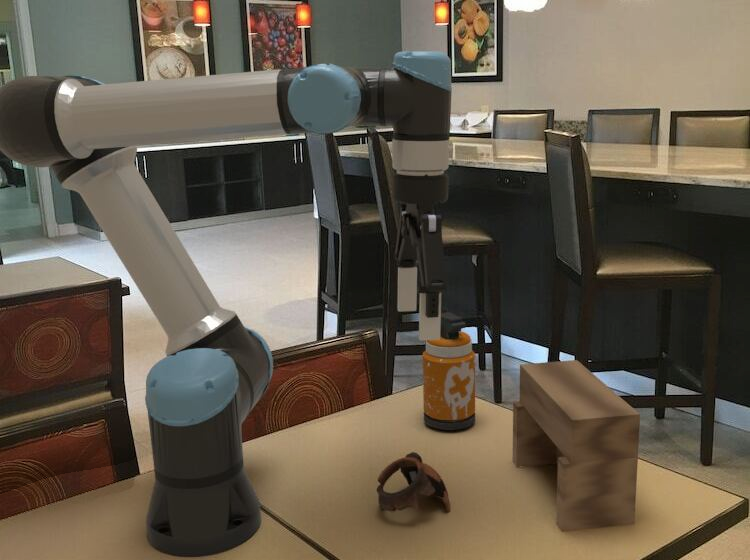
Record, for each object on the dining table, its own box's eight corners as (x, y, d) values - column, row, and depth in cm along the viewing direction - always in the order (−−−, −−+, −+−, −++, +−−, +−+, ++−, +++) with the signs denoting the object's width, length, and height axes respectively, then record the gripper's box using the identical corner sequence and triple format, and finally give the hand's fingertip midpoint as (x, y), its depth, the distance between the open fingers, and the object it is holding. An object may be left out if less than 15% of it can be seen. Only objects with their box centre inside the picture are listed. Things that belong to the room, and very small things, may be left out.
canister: (439, 437, 133) (437, 323, 128) (409, 414, 143) (407, 307, 138) (485, 426, 137) (485, 315, 132) (453, 404, 146) (452, 300, 142)
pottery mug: (459, 525, 106) (432, 483, 103) (397, 552, 108) (368, 512, 105) (449, 467, 117) (424, 428, 114) (392, 492, 119) (366, 454, 116)
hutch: (561, 534, 103) (564, 420, 100) (512, 461, 124) (513, 364, 120) (634, 526, 105) (640, 414, 101) (573, 455, 125) (576, 359, 121)
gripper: (475, 182, 94) (469, 351, 99) (425, 162, 118) (422, 299, 123) (414, 183, 93) (411, 354, 98) (376, 162, 117) (375, 301, 122)
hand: (417, 324), depth 111 cm, fingers open, 13 cm apart
